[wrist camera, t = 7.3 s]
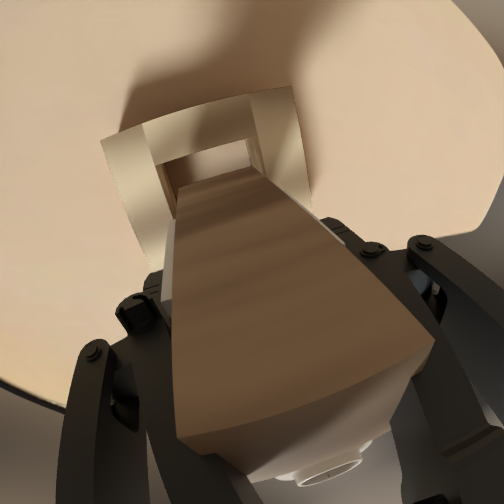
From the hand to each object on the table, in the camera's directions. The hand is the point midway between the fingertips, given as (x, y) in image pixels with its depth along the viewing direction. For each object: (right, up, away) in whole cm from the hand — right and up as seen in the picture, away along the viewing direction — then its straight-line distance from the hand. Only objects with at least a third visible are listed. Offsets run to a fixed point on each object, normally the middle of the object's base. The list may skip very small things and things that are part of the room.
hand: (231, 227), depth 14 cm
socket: (-2, +5, +8) cm, 10 cm away
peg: (-1, +1, +2) cm, 3 cm away
